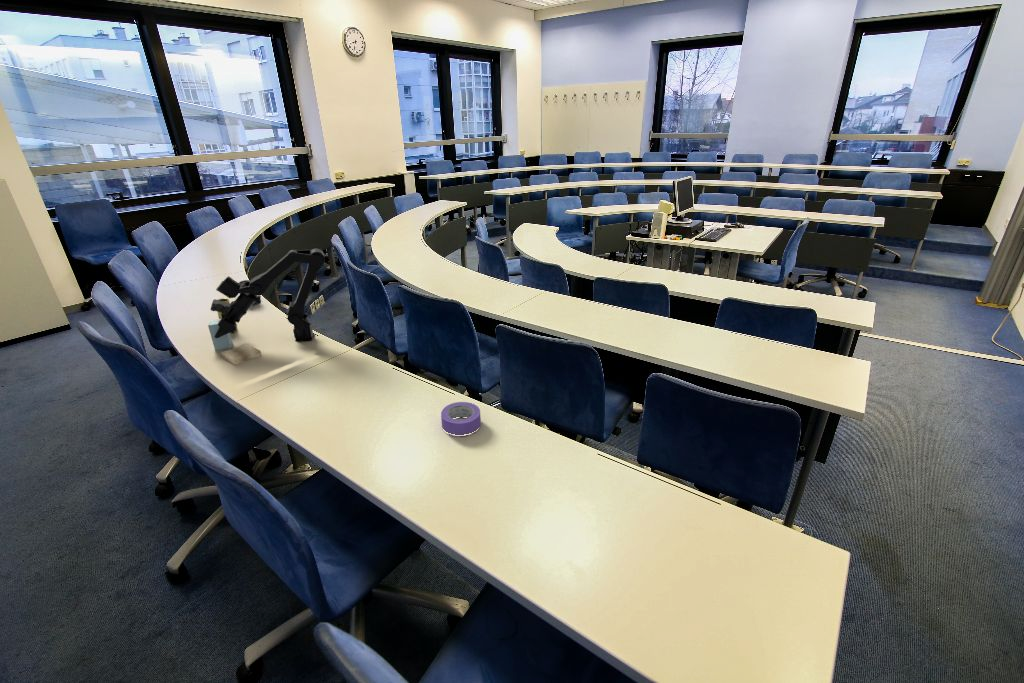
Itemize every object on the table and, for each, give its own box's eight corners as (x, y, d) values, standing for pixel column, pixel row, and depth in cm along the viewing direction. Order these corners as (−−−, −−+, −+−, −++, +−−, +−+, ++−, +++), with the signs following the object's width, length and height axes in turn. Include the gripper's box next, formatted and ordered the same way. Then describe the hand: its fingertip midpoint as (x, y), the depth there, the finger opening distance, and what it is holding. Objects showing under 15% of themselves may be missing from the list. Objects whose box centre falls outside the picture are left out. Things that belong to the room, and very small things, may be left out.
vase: (234, 327, 207) (226, 296, 201) (240, 330, 204) (232, 300, 198) (219, 331, 203) (210, 300, 197) (225, 335, 200) (216, 303, 194)
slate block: (233, 345, 190) (226, 318, 185) (231, 351, 186) (224, 323, 181) (217, 347, 189) (210, 320, 183) (215, 353, 184) (207, 325, 179)
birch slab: (249, 348, 185) (247, 343, 185) (261, 355, 180) (260, 350, 179) (222, 357, 178) (221, 352, 177) (234, 364, 173) (233, 360, 172)
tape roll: (434, 425, 142) (433, 411, 140) (463, 410, 150) (463, 397, 147) (458, 442, 134) (457, 428, 132) (488, 426, 142) (488, 412, 140)
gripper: (224, 285, 187) (199, 315, 187) (218, 300, 171) (191, 332, 172) (251, 301, 193) (227, 330, 193) (247, 317, 177) (221, 348, 178)
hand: (216, 334), depth 184 cm, fingers closed on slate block, 5 cm apart
